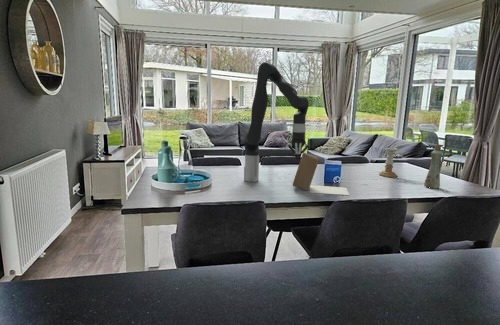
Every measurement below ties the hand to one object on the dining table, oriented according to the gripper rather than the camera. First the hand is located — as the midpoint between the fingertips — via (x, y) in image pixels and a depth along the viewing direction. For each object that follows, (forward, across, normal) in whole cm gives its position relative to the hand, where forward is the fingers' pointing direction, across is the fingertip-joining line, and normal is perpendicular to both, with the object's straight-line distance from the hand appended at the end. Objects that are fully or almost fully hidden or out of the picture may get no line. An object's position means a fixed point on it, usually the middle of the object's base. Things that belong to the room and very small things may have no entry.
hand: (297, 160), depth 194 cm
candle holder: (+19, +65, +52) cm, 85 cm away
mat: (+18, +19, 0) cm, 26 cm away
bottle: (+19, +85, +24) cm, 90 cm away
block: (+16, +2, 0) cm, 17 cm away
